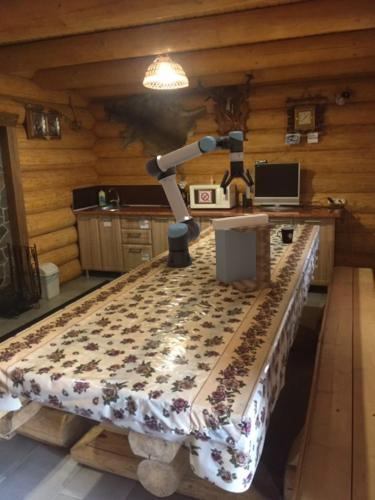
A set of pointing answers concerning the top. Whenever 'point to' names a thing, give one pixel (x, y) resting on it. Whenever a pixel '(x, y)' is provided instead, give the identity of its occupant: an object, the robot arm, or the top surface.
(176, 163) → the robot arm
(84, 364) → the top surface
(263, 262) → the walnut stand
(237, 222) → the pale wooden bar
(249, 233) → the slate podium
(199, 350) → the top surface
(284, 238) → the coffee mug
